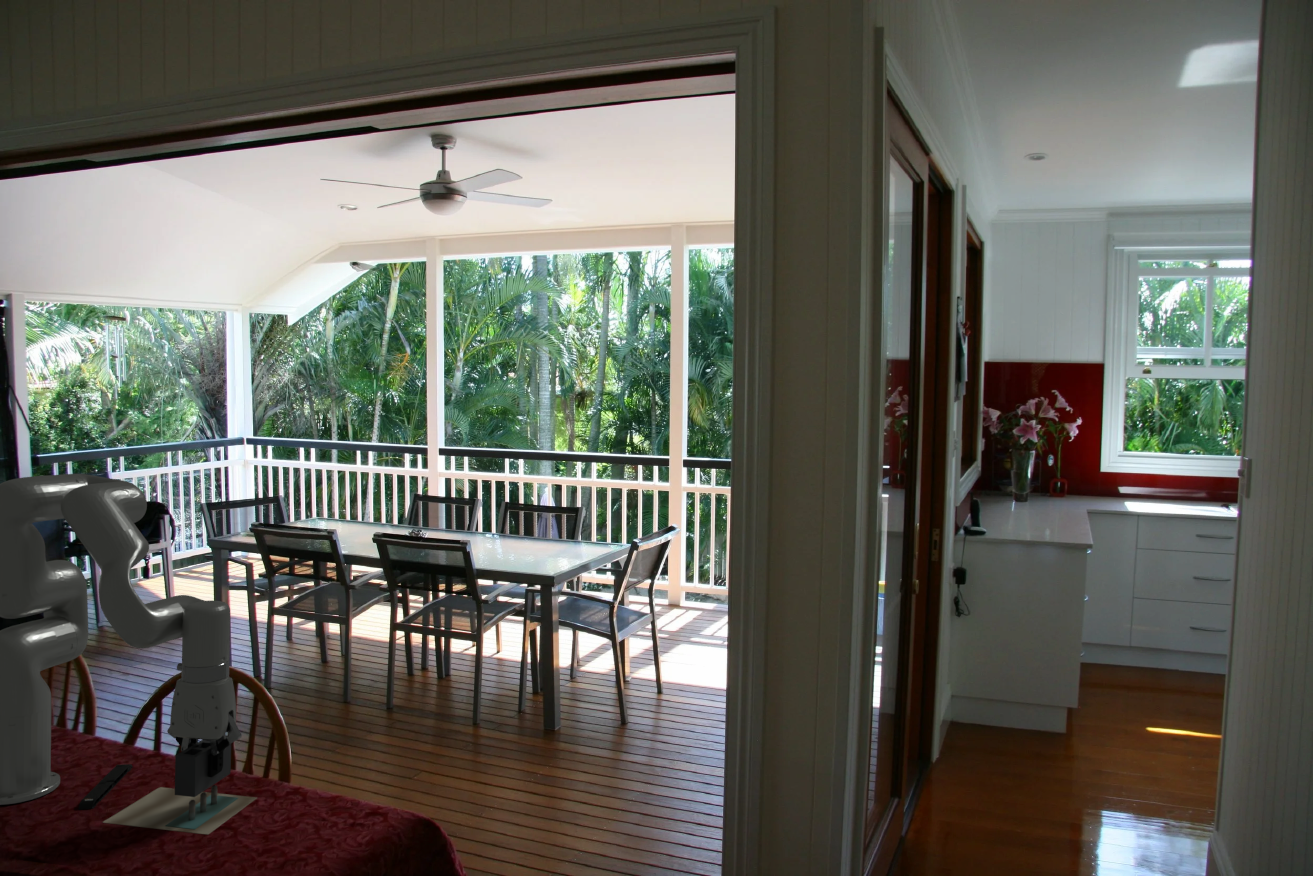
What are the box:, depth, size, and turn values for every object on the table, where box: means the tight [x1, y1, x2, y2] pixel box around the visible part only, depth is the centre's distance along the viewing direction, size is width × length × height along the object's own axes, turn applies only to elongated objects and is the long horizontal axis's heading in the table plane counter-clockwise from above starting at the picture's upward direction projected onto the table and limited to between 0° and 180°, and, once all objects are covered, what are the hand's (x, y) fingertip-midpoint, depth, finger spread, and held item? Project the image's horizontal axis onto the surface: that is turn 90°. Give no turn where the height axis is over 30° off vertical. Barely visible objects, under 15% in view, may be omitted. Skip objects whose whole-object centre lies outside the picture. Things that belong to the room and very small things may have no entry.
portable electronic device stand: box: [78, 763, 134, 811], centre depth 161 cm, size 18×3×3 cm, turn 12°
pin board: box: [102, 784, 258, 835], centre depth 153 cm, size 20×14×5 cm
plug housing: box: [174, 735, 232, 797], centre depth 153 cm, size 10×4×7 cm, turn 172°
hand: (203, 772), depth 153 cm, fingers closed on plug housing, 3 cm apart
